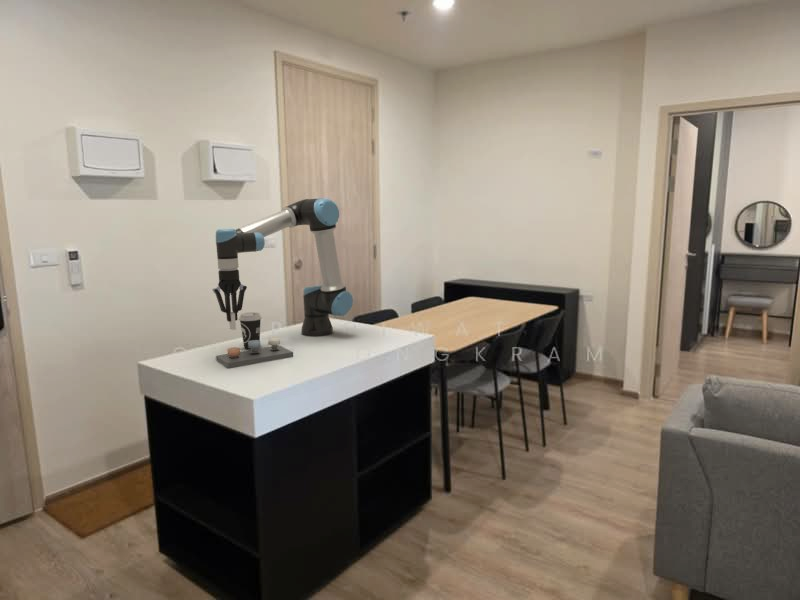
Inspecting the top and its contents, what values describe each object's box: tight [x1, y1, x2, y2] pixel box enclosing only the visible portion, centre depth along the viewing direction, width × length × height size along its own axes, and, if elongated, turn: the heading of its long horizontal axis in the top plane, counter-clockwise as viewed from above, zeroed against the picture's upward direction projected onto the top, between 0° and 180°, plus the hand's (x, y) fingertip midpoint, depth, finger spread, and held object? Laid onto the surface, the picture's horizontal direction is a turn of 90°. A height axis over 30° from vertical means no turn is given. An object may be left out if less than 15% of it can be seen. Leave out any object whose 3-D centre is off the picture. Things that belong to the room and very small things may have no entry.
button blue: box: [248, 339, 262, 352], centre depth 219 cm, size 5×5×4 cm
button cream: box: [267, 336, 281, 349], centre depth 224 cm, size 5×5×4 cm
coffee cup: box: [238, 311, 262, 351], centre depth 236 cm, size 10×10×15 cm
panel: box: [215, 344, 294, 369], centre depth 220 cm, size 27×14×2 cm, turn 126°
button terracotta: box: [226, 346, 241, 359], centre depth 215 cm, size 5×5×4 cm
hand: (232, 329), depth 213 cm, fingers closed
